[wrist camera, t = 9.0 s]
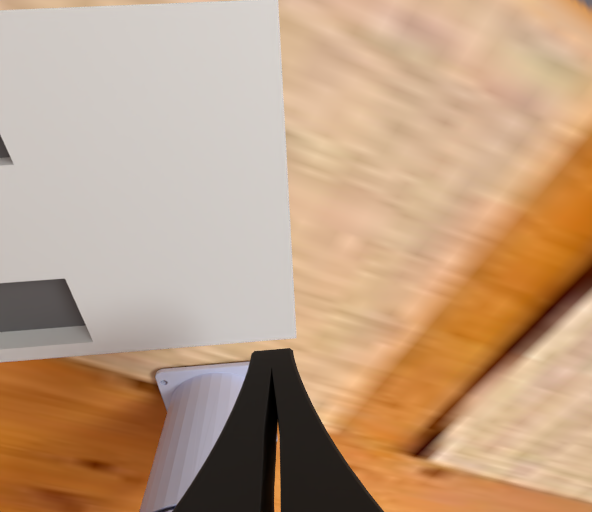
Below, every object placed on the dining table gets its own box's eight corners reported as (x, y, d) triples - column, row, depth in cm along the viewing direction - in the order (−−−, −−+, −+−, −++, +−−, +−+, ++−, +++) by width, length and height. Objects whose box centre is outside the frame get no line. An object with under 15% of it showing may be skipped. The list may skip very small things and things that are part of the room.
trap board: (294, 317, 23) (299, 369, 19) (-112, 349, 22) (-193, 411, 18) (276, 6, 15) (280, -13, 11) (-384, 33, 14) (-644, 23, 10)
